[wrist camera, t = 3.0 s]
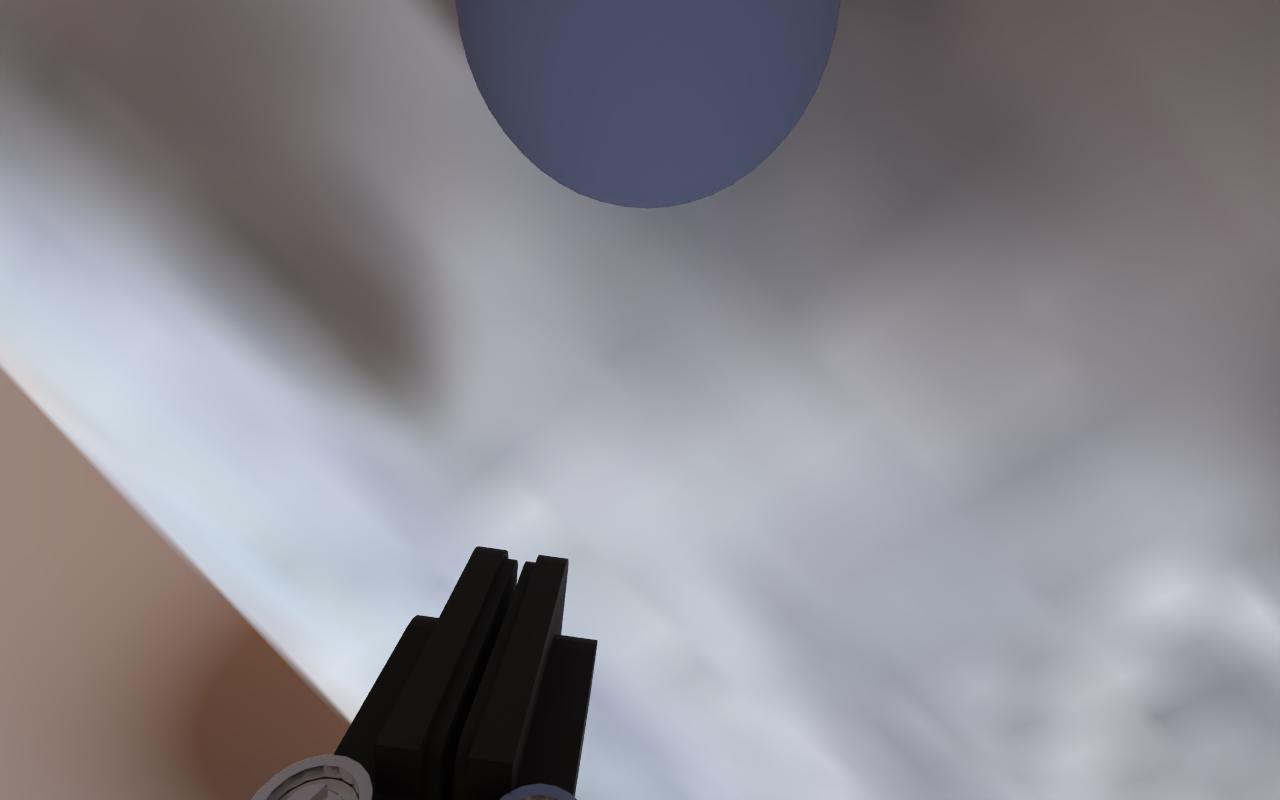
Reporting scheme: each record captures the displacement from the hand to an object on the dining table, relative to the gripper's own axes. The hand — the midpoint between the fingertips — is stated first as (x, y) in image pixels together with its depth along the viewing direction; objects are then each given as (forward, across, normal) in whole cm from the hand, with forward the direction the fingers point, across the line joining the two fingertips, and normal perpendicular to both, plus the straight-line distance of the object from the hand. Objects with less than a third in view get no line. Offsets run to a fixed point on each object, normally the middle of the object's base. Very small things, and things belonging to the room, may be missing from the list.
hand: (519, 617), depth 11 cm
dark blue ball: (+2, -1, -10) cm, 10 cm away
